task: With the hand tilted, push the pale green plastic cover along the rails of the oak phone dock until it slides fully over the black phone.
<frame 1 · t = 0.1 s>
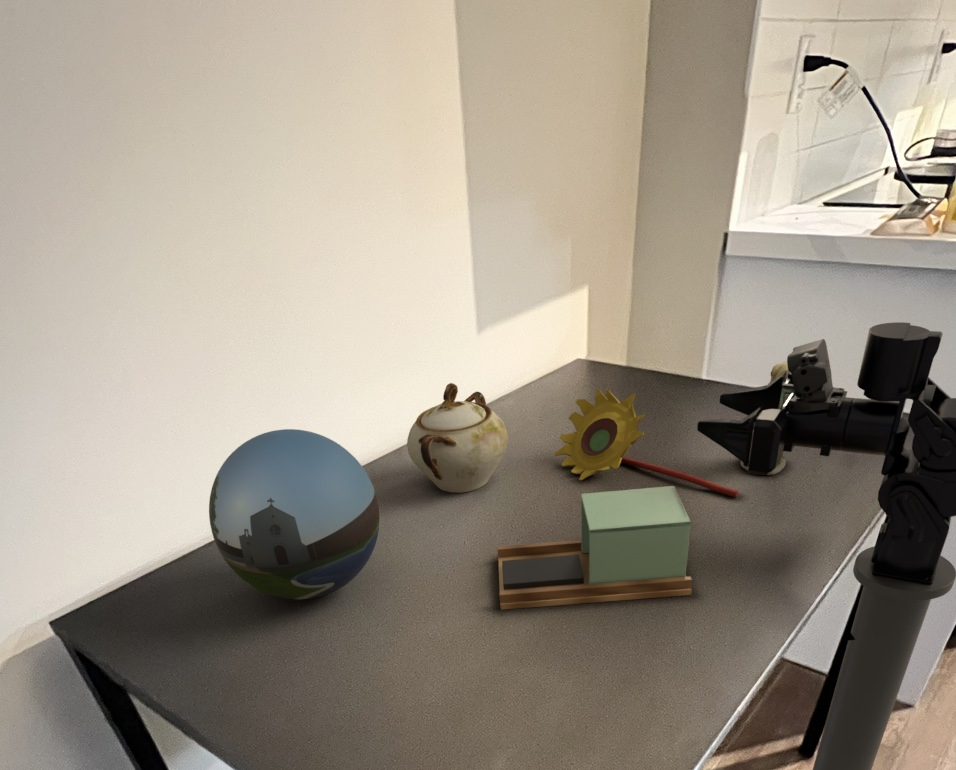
hand: (709, 411, 90), 14 cm above the table, tool horizontal, fingers open, 9 cm apart
cover: (632, 537, 87), point 5 cm above the table, slide at 0.0 cm
dock: (589, 576, 91), on the table
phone: (542, 574, 90), point 1 cm above the table, touching dock
decorative flower: (639, 478, 110), on the table
figurine: (763, 470, 109), on the table
sugar bowl: (461, 482, 115), on the table
decorative sphere: (316, 588, 95), on the table
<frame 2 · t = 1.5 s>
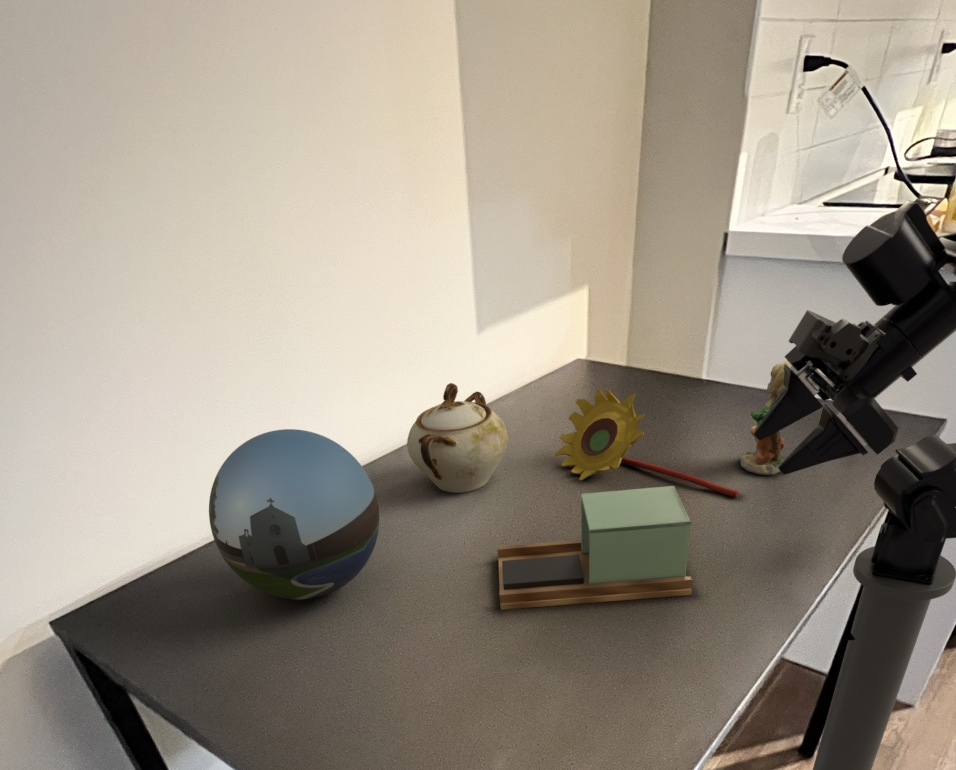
hand: (768, 453, 81), 14 cm above the table, tool tilted 45°, fingers open, 9 cm apart
nothing on the table moved.
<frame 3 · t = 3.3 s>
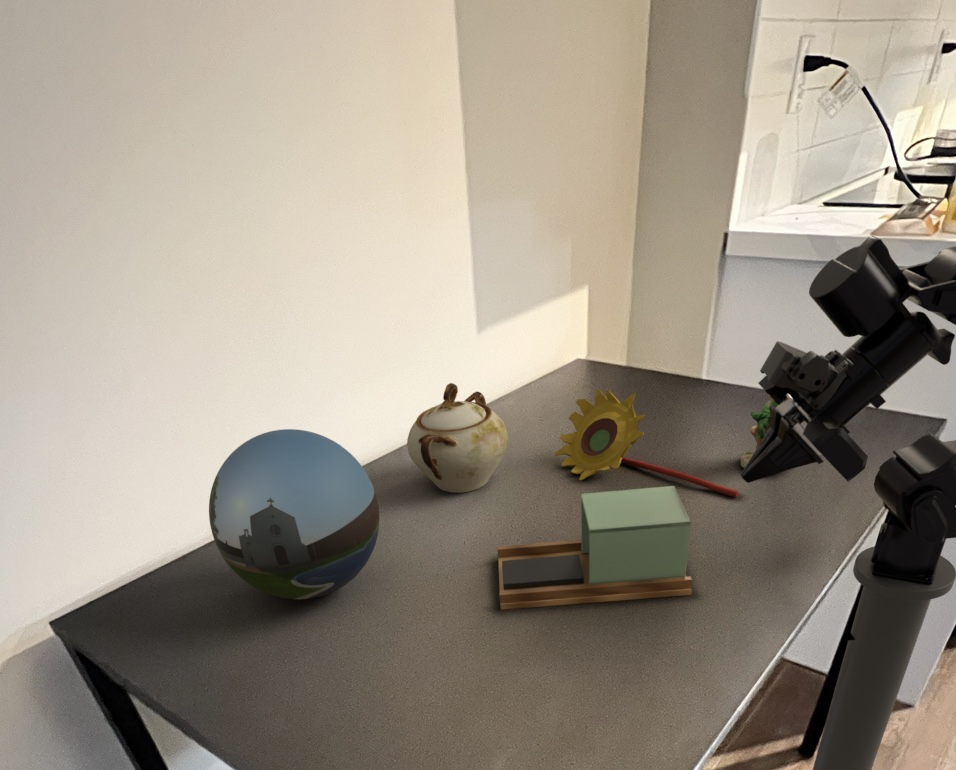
hand: (743, 479, 83), 11 cm above the table, tool tilted 45°, fingers closed
nothing on the table moved.
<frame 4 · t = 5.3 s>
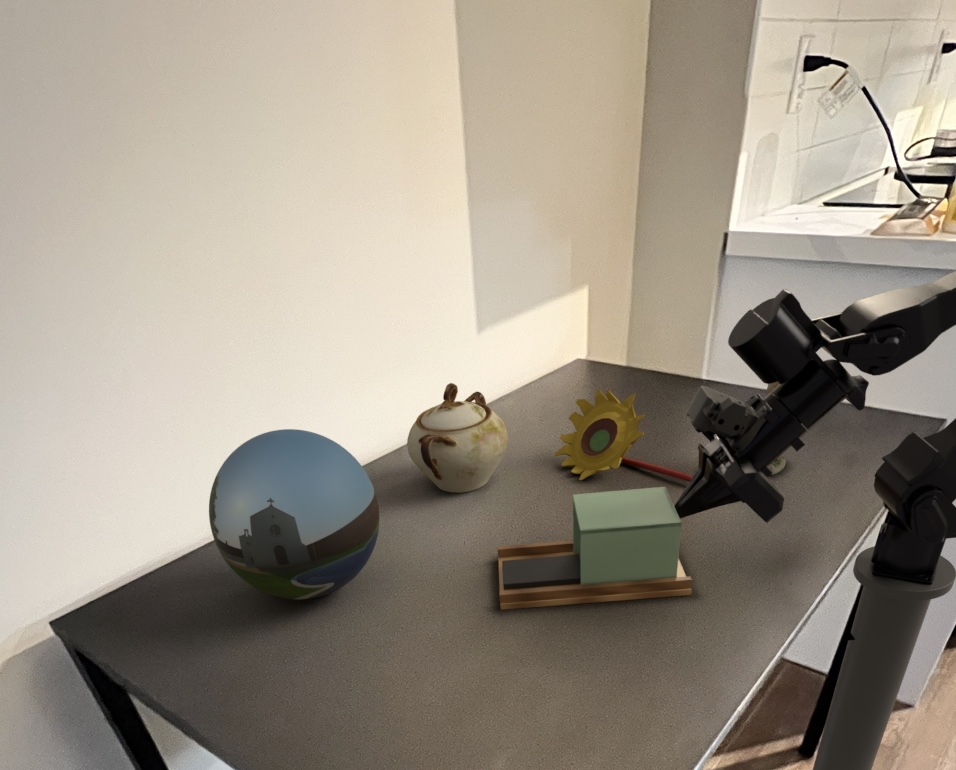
hand: (674, 515, 85), 7 cm above the table, tool tilted 45°, fingers closed, pressing on cover
cover: (623, 538, 87), point 5 cm above the table, slide at 1.0 cm, touching gripper
everything else where it was.
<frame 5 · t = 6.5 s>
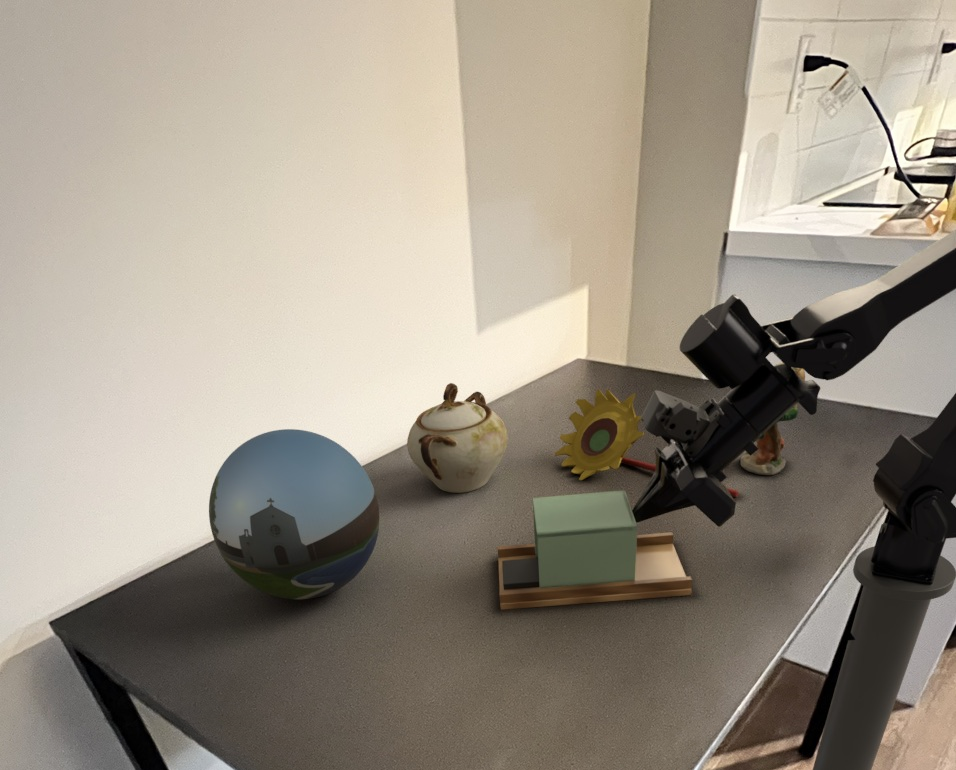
hand: (632, 518, 86), 7 cm above the table, tool tilted 45°, fingers closed, pressing on cover
cover: (582, 541, 88), point 5 cm above the table, slide at 5.8 cm, touching gripper
everything else where it was.
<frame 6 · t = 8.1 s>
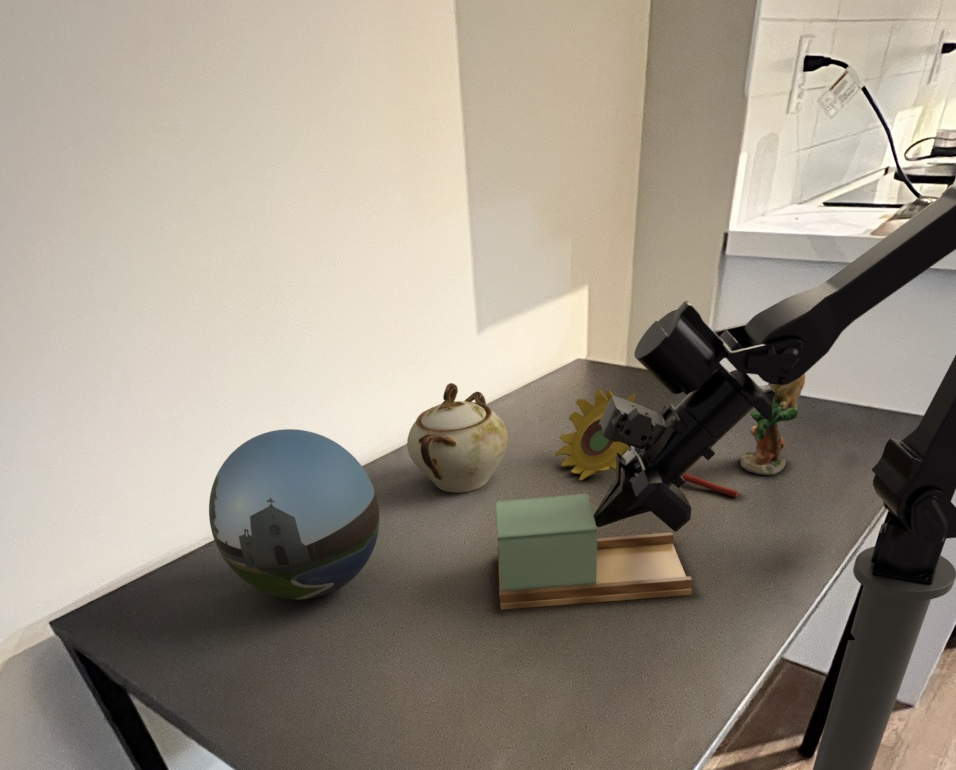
hand: (594, 523, 86), 7 cm above the table, tool tilted 45°, fingers closed, pressing on cover
cover: (545, 544, 88), point 5 cm above the table, slide at 10.2 cm, touching gripper
everything else where it was.
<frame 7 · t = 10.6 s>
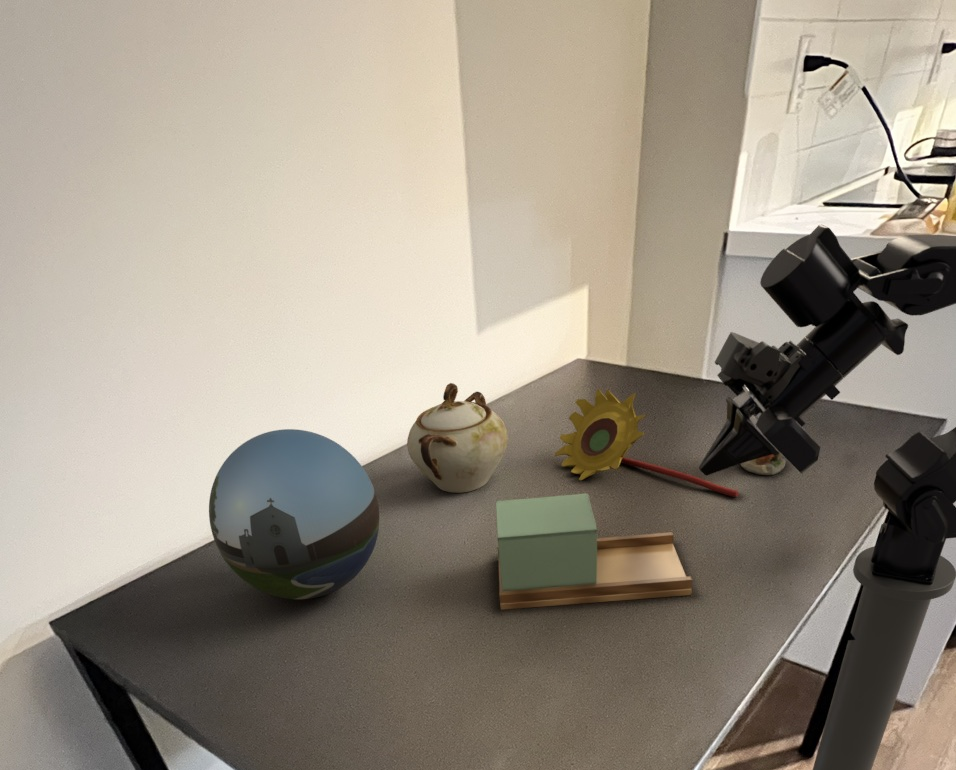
hand: (702, 471, 82), 12 cm above the table, tool tilted 45°, fingers closed
cover: (545, 544, 88), point 5 cm above the table, slide at 10.2 cm
everything else where it was.
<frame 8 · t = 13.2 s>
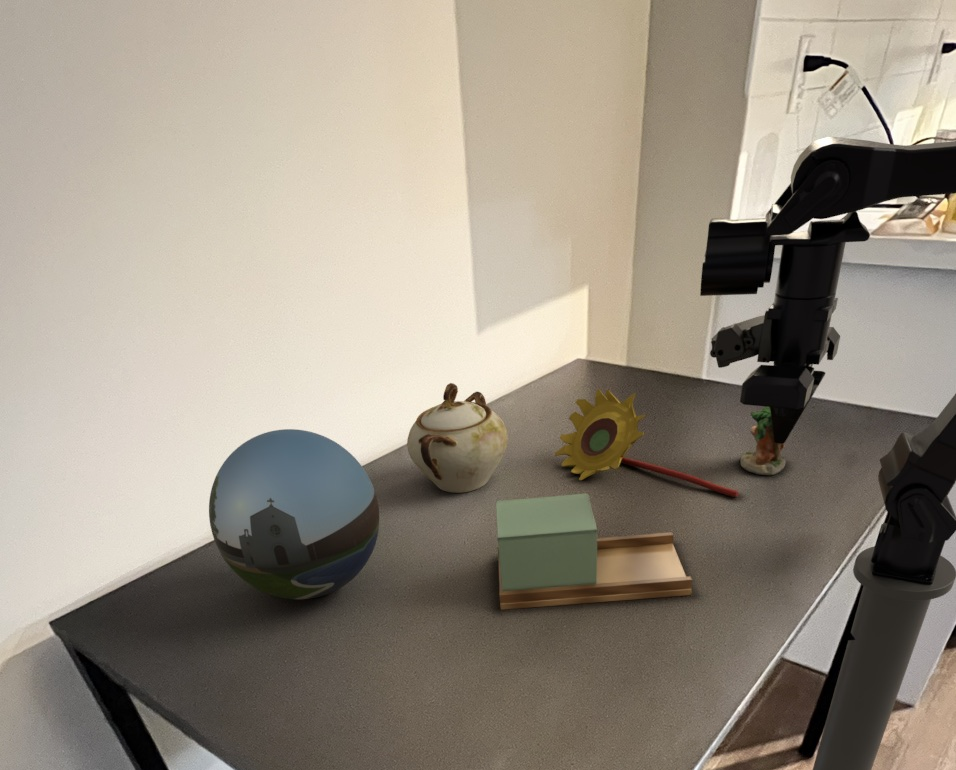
hand: (779, 442, 85), 13 cm above the table, tool pointing down, fingers closed
nothing on the table moved.
at the end: cover slide at 10.2 cm; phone moved 0.0 cm from its start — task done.
